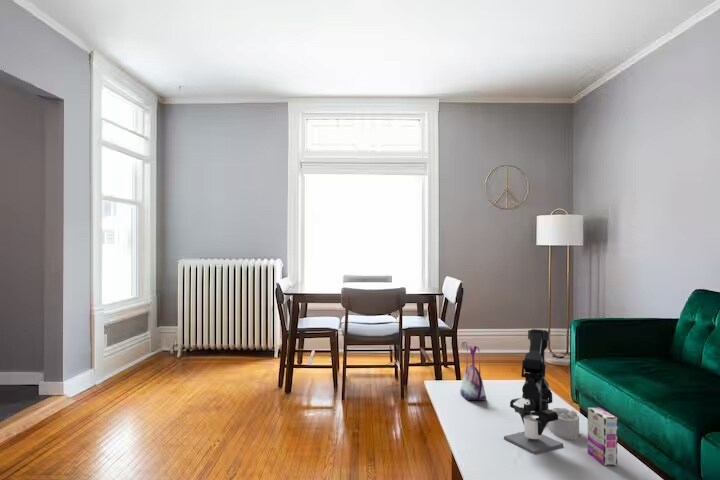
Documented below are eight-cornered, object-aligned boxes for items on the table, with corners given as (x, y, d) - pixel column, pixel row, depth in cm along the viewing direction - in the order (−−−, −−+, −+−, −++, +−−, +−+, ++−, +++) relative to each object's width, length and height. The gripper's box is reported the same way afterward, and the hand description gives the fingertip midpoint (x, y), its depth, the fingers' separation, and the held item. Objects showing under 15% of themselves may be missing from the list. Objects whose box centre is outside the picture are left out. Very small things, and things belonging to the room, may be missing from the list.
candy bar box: (618, 466, 164) (618, 417, 165) (604, 466, 164) (604, 417, 164) (599, 451, 176) (600, 406, 176) (586, 452, 175) (586, 406, 175)
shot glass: (543, 440, 179) (544, 421, 179) (524, 438, 181) (524, 420, 181) (540, 433, 186) (541, 415, 186) (522, 431, 188) (522, 413, 188)
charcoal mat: (532, 432, 194) (532, 429, 194) (563, 446, 180) (563, 443, 180) (503, 438, 187) (503, 436, 187) (534, 453, 173) (534, 451, 173)
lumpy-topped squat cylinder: (570, 426, 200) (570, 405, 200) (585, 439, 187) (585, 417, 187) (545, 426, 200) (545, 405, 200) (558, 439, 187) (558, 416, 187)
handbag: (456, 390, 248) (456, 341, 248) (475, 390, 249) (475, 341, 249) (470, 404, 227) (470, 351, 227) (490, 403, 228) (491, 350, 228)
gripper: (499, 387, 188) (499, 427, 188) (537, 401, 172) (537, 445, 172) (520, 383, 193) (520, 422, 193) (559, 396, 177) (559, 439, 177)
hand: (533, 432), depth 184 cm, fingers closed on shot glass, 6 cm apart
